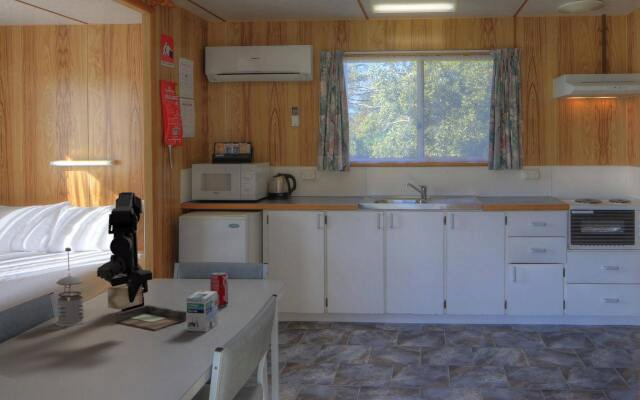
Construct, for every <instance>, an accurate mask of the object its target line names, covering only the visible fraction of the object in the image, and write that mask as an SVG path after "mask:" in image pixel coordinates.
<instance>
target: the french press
mask: <svg viewBox="0 0 640 400" xmlns="http://www.w3.org/2000/svg"><path fill="white" fill-rule="evenodd" d="M64 251H65V252H67V263H68V264H67V265H68V266H67V267H68V270H70V256H69V255H70V254H69V253H70V252H71V251H72V248H71V247H66V248H65V249H64ZM83 281H84V280H83V279H81V278H79V277H76V276H70V274H68V276H66V277H63V278H60V279H59V280H57V281H56V284H57V285H58V286H63V288H64V289H63V292H59V293H58V298H57V318H58V319H57V321H56V322H55V326H57V327H67V328H68V327H75V326H77V327H78V326H81V325H83V324H85V323H87V319H86V318H84V317H85V316H84V299H83V296H81V294H82V292H81V291H79V290H78V291H77V290H76V291H75V290H71V287H72V286H74V285H79V284H82V283H83ZM66 289H69V290H67V291H66ZM68 298H69V300H68Z"/></svg>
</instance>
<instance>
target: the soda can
mask: <svg viewBox="0 0 640 400" xmlns="http://www.w3.org/2000/svg"><path fill="white" fill-rule="evenodd" d="M209 280H210V282H209V284H210V285H209V286H210V287H209V289H210V290H209V291H217V304H218V308H225V307H227V305H229V276H228V274H227V272H225V271H214V272H211V274H210V278H209Z"/></svg>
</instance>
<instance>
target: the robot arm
mask: <svg viewBox="0 0 640 400" xmlns="http://www.w3.org/2000/svg"><path fill="white" fill-rule="evenodd" d="M142 214H143V201H142V198H140V197H138V196H137V195H136V192H133V191H130V192H129V191H126V192H125V191H123V192H119V193H118V197H117V198H116V199H115V207H114V208H112V210H111V212H110V213H108V229H107V232H108V233H107V234H108V235H112V236H113V238H112V240H111V242H110V244H109V250H110V252H111V253H112V254H110V257H109V258H110V260H109V261H107V262H105V263H104V264H102V265H101V266H99V267H97V271H96V277H98V278H100V279H104V281H106V282H108V283H109V284H110V285H111V287H114V286H118V285H122V284H126V285H127V286H128V294H129V302H130V303H132V302H133V301H134V299H135V297H136V294H137V292H138V290H139V288H140V286H141V284H142V304H138V305H135V306H131V307H127V308H124V309H121V311H123V312H124V311H128V310H131V309H135V308H139V307H142V306H145V296H144V294H147V293H148V292H149V285H148V281H150V280H153V272H152V270H150V269H149V270H148V269H143V268H142V266H141V265H140V264H139V250H138V247H139V246H138V224H139V222H140V221H141V216H142Z"/></svg>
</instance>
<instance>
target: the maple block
mask: <svg viewBox="0 0 640 400" xmlns="http://www.w3.org/2000/svg"><path fill="white" fill-rule="evenodd" d="M142 289H143V288H142V284H141V286H140V288H139V290H138V292H137V294H136V297H135V299H134V301H133V302H132V303H130V302H129V294H128V286H127V285H126V284H122V285H118V286H114V287H112V286H111V287H107V307H108V309H113V310H114V309H115V310H122V309H124V308H127V307H131V306H135V305H138V304H142Z"/></svg>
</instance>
